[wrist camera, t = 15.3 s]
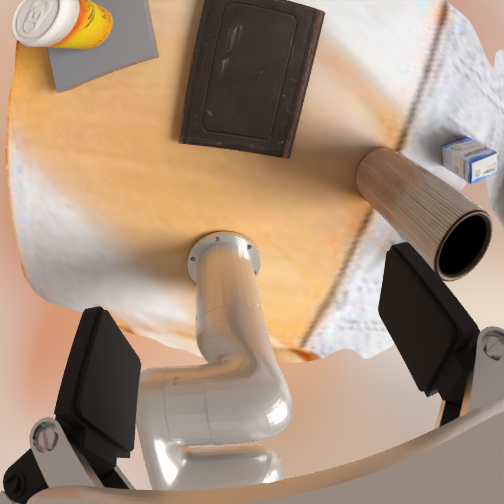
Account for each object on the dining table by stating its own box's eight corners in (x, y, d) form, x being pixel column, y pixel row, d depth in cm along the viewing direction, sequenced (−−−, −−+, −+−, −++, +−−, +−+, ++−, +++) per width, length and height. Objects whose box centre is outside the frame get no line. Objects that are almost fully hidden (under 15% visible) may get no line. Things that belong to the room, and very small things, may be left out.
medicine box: (467, 136, 44) (498, 151, 37) (469, 156, 47) (497, 173, 40) (440, 145, 45) (471, 162, 38) (442, 167, 48) (471, 185, 40)
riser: (159, 56, 33) (153, 55, 30) (69, 90, 33) (57, 92, 29) (143, -26, 25) (137, -34, 22) (53, 11, 25) (41, 8, 21)
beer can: (123, 15, 26) (77, -10, 13) (99, 55, 28) (42, 54, 16) (87, 2, 23) (29, -21, 11) (64, 42, 26) (-2, 39, 13)
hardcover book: (180, 139, 41) (178, 143, 39) (208, -10, 29) (208, -14, 27) (287, 154, 44) (290, 159, 42) (321, 14, 32) (326, 12, 30)
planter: (367, 139, 43) (462, 200, 25) (411, 157, 46) (503, 221, 27) (346, 193, 49) (420, 279, 30) (390, 206, 51) (466, 285, 32)
